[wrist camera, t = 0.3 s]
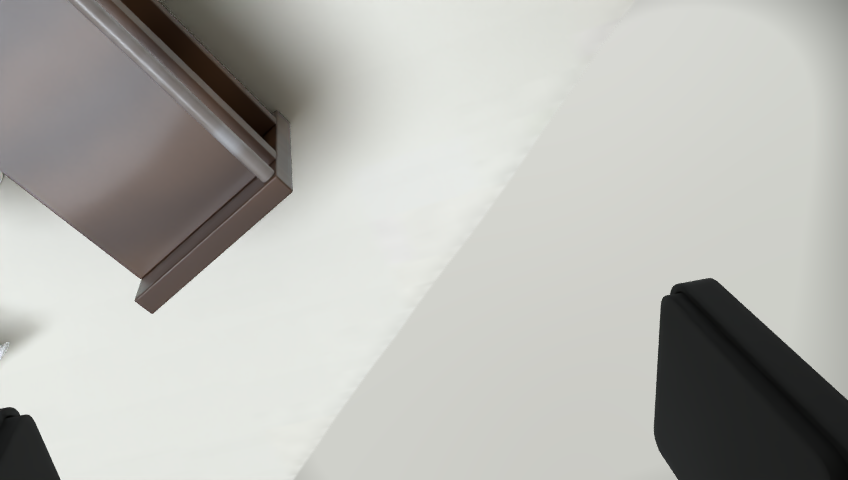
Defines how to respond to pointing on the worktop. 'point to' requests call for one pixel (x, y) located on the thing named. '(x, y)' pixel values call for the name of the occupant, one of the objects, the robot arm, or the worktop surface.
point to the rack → (136, 135)
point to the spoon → (3, 349)
